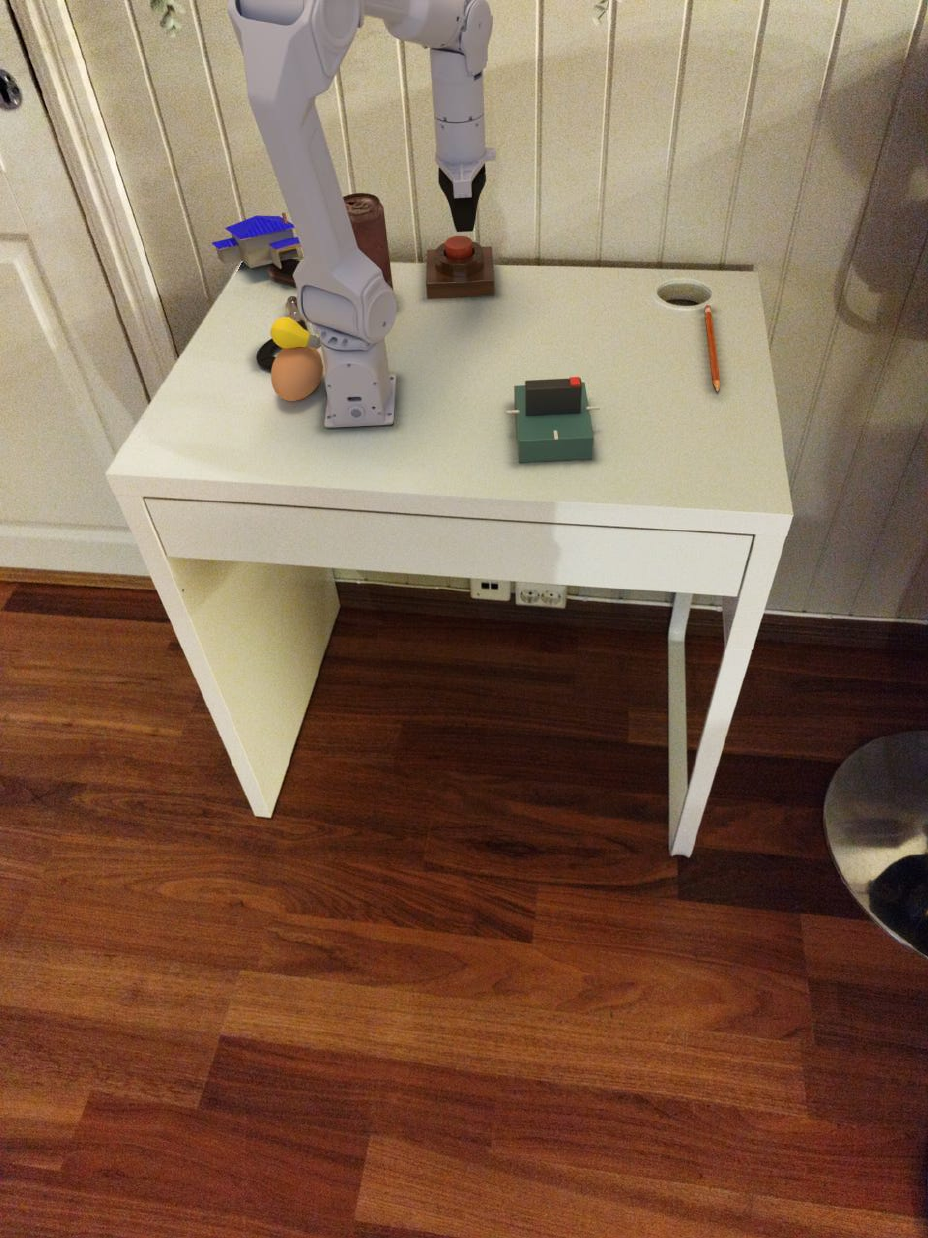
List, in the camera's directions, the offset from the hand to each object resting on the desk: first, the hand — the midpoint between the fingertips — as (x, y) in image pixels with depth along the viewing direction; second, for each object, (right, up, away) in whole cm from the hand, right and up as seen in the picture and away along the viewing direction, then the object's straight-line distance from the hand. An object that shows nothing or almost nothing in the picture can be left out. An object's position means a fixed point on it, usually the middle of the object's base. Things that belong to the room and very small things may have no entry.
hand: (464, 229), depth 116 cm
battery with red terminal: (+10, -25, -13) cm, 30 cm away
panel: (+10, -27, -10) cm, 31 cm away
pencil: (+30, -16, -2) cm, 34 cm away
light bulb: (-20, -17, -7) cm, 27 cm away
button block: (-1, -2, +12) cm, 12 cm away
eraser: (-22, 0, +12) cm, 25 cm away
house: (-27, +3, +16) cm, 32 cm away
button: (-1, +1, +9) cm, 9 cm away
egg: (-19, -16, -3) cm, 25 cm away
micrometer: (-24, -11, +3) cm, 27 cm away
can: (-12, -7, +9) cm, 17 cm away
